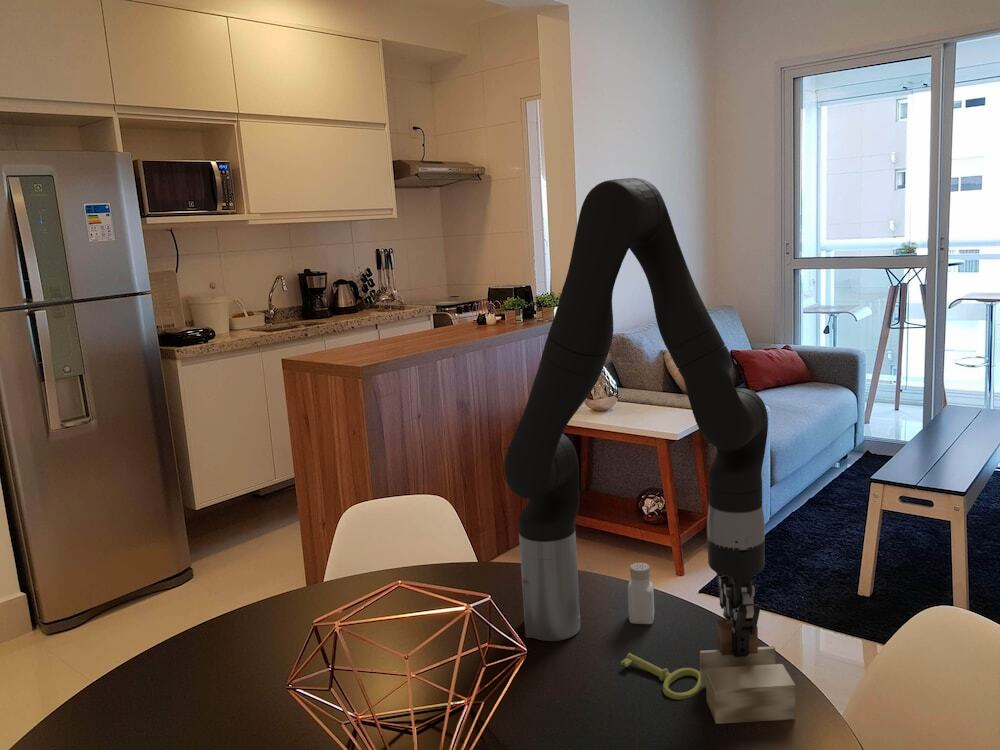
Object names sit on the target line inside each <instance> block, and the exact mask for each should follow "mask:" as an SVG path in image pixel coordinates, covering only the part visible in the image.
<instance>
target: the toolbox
mask: <svg viewBox="0 0 1000 750" xmlns="http://www.w3.org/2000/svg"><path fill="white" fill-rule="evenodd" d="M705 689H706V690H705V691H706V693H705V694H706V703H707V705H708V708H709V710H710V713H711V715H712V717H713V720H714V722H715V724H716V725H717V724H718V725H719V724H736V723H737V724H738V723H751V722H752V723H753V722H767V721H785V720H795V719H796V683H795V682H794V680H793V678H792V677H791V676H790V673H789V672H788V671H787V669H786V667H785V665H784V664H783V663H775V664H771V665H755V666H739V667H722V668H706V686H705Z"/></svg>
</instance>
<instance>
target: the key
mask: <svg viewBox="0 0 1000 750" xmlns="http://www.w3.org/2000/svg"><path fill="white" fill-rule="evenodd" d="M632 664H633V665H635V666H637V667H639V668H640V669H642V670H644V671H646V672H649V673H650V674H652V675H654V676H656V677H658V678H659V680H660V681H662V682H663V685H662V691H663V694H664V695H665V696H666V697H667V698H670V699H672V700H686V699H690V698H692V697H694V696H696V695H697V694H699V693H700V692H701V690H702V689H703V688H704V686H701V684H700V670H697V669H696V668H692V667H682V668H678V669H676V670H674V671H672V672H670V671H669V669H668V668H663V669H662V668H661V667H659V666H657V665H655V664H653V663H650V662H649V661H646V660H644V659H642V658H641V657H638V656H636V655H635V654H632V653H631V652H628V653H627V655H626V657H625V658H624V659H623V660H621V661H620V665H622V666H623V665H624V667H626V668H628V667H629V666H631V665H632ZM685 676H692V677H694V678H696V679H697V681H696V684H695V686H694V687H692V688H691V689H690V690H688V691H684V692H675V691H672V690H671V689H670V688H669V687H670V685H671V684H672V683H673V682H675V681H676V680H677V679H680V678H682V677H685Z"/></svg>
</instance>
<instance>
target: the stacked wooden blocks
mask: <svg viewBox="0 0 1000 750" xmlns="http://www.w3.org/2000/svg"><path fill="white" fill-rule="evenodd" d="M758 628H759V627H758V626H757V627H756V632H755V635H749V655H748V656H746V657H735V656H734V655H733V653H732V631H731V620H726V619H721V620H720V619H718V620H716V636H717V637H716V642H717V643H716V644H717V645H716V646H717V648H718V649H709V650H708V649H707V650H699V672H700V684H701V686H703V687H706V668H722V667H739V666H755V665H771V664H776V647H775V646H758V645H759V643H758V642H759V639H758V638H759V634H758Z"/></svg>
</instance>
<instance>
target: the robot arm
mask: <svg viewBox="0 0 1000 750" xmlns="http://www.w3.org/2000/svg"><path fill="white" fill-rule="evenodd" d="M578 215H579V216H578V220H577V224H576V225H577V226H576V230H575V235H574V240H573V246H572V251H571V257H570V261H569V265H568V266H569V267H568V271H567V275H566V277H565V279H564V280H565V281H564V283H563V286H562V289H561V294H560V297H559V299H558V303H557V305H556V306H557V307H556V310H555V313H554V316H553V319H552V321H551V325H550V328H549V331H548V333H547V338H546V339H545V344H544V347H543V349H542V353H541V357H540V362H539V365H538V368H537V371H536V375H535V377H534V380H533V384H532V386H531V391H530V392H529V397H528V400H527V403H526V406H525V409H524V412H523V414H522V416H521V419H520V421H519V423H518V426H516V430H515V432H514V434H513V436H512V439H511V440H510V444H509V446H508V448H507V450H506V453H505V458H504V461H503V462H504V463H503V471H504V477H505V481H506V483H507V486H508V488H509V489H510V491H511V492H512V493H513V494H514V495H516V496H517V497H519V498H523V499H528V502H527V503H526V505H525V506H524V507H523V509H522V510H521V511H520V513H519V515H518V518H517V527H518V540H519V542H518V543H519V552H520V553H519V556H520V569H521V570H520V571H521V587H522V589H521V590H522V602H523V614H524V615H523V617H524V632H525V634H524V635H525V638H527V639H532V638H533V639H536V640H539V641H542V642H543V641H545V642H559V641H563V640H567V639H570V638H572V637H574V636H575V635H577V634H578V633H579V632H580V629H581V612H580V595H579V594H580V591H579V589H580V588H579V574H578V555H577V553H578V551H577V536H576V535H577V533H576V519H577V518H578V517H577V516H578V514H579V510H580V509H579V508H580V466H579V465H580V464H579V457H578V454H577V451H576V450H577V449H576V448H575V445H574V444H573V442H572V441H571V439H570V438H569V437H568V436H566V435H565V434H564V432H565V430H566V427H567V425H569V422H570V421H571V419H572V418H573V417H574V415H575V414H576V412H577V411H578V410H579V409H580V407H581V406H582V405H583V404H584V402H585V401H586V399H587V398H588V397H589V395H590V394H591V392H593V389H594V388H595V386H596V384H597V382H598V381H599V379H600V378H601V374H602V373H603V369H604V367H605V365H606V362H607V358H608V355H609V352H610V350H611V346H612V342H613V338H614V337H613V336H614V312H613V293H614V287H615V284H616V280H617V278H618V276H619V272H620V270H621V267H622V264H623V262H624V259H625V257H626V255H627V253H628V251H629V249H630V251H631V253H632V255H633V256H634V257H635V258H636V260H637V262H638V263H639V264H640V267H641V268H642V270H643V273H644V274H645V275H644V276H645V277H646V280H647V283H648V286H649V289H650V293H651V297H652V302H653V310H654V314H655V319H656V323H657V327H658V328H657V329H659V334H660V336H661V339H662V341H663V343H664V346H665V347H666V349H667V351H668V353H669V355H670V357H671V359H672V361H673V363H674V366H676V369H677V370H678V372H679V374H680V375H681V377H682V379H683V382H684V386H685V391H686V394H687V398H688V401H689V404H690V408H691V410H692V414H693V418H694V420H695V423H696V425H697V427H698V429H699V431H700V432H701V434H702V436H703V437H704V438H705V439H706V441H707V442H709V444H711V445H712V446H713V447H714V448H716V454H715V458H714V460H713V462H712V464H711V465H710V467H709V471H708V478H707V480H708V481H707V482H708V484H707V485H708V509H707V510H708V511H707V519H706V520H707V524H706V525H707V563H708V566H709V568H710V569H711V570H712V571H714V572H715V574H716V581H717V588H718V589H717V590H718V597H719V607H720V608H721V609H722V610H723V613H722V615H723V619H724V620H731V631H732V653H733V655H734V656H735V657H746V656H748V655H749V635H755V632H756V627H758V621H759V618H760V617H759V616H760V611H761V608H760V605H759V604H758V603H754V597H755V595H756V589H755V583H754V582H752V580H751V579H752V578H753V577H755V576H756V575H758V574H760V573H761V572H763V570H764V568H765V563H766V560H765V558H766V555H765V552H766V551H765V544H766V543H765V534H766V533H765V516H764V515H765V514H764V511H763V510H764V509H763V479H762V478H763V476H762V470H763V463H764V459H765V453H766V446H767V439H768V429H769V418H768V417H769V416H768V411H767V407H766V404H765V402H764V401H763V399H762V398H761V397H760V395H758V394H757V393H756V392H754V391H753V390H751V389H748V388H744V387H743V388H742V387H739V388H736V387H735V383H734V382H733V379H732V376H731V372H730V371H731V368H732V365H733V360H732V357H731V353H730V350H729V349H728V347H727V345H726V344H725V342H724V340H723V338H722V336H721V334H720V332H719V330H718V329H717V327H716V325H715V323H714V321H713V319H712V317H711V316H710V314H709V312H708V309H707V308H706V305H705V304H704V302H703V299H702V297H701V295H700V294H699V291H698V288H697V286H696V284H695V282H694V280H693V277H692V275H691V272H690V270H689V268H688V265H687V262H686V260H685V256H684V254H683V251H682V249H681V248H682V247H681V245H680V243H679V241H678V238H677V235H676V231H675V229H674V226H673V223H672V222H673V221H672V220H671V216H670V213H669V211H668V208H667V205H666V202H665V200H664V198H663V195H661V192H660V190H659V189H658V188H657V187H656V185H654V184H653V183H651V182H650V181H648V180H646V179H644V178H638V177H628V178H619V179H617V178H616V179H609V180H604V181H601V182H599V183H598V184H596V185H595V186H594V187H593V188H592V189H591V190H590V191H589V192H588V193H587V195H586V196H585V199H584V201H583V203H582V205H581V208H580V212H579V214H578Z"/></svg>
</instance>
